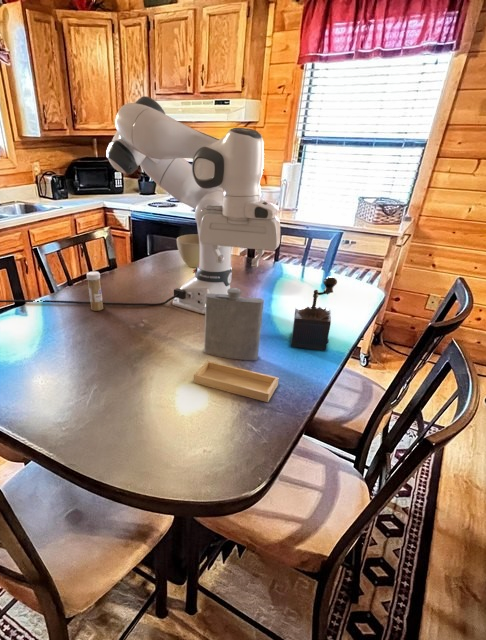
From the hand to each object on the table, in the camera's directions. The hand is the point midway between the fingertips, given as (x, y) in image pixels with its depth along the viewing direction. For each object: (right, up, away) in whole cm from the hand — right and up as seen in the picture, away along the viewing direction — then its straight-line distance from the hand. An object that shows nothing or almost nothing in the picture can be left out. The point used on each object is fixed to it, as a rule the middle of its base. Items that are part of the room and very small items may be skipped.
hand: (236, 264), depth 107 cm
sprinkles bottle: (-45, -3, +46) cm, 64 cm away
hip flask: (0, -23, +14) cm, 27 cm away
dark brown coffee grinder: (+26, -17, +23) cm, 39 cm away
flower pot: (-6, +25, +90) cm, 94 cm away
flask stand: (0, -31, +1) cm, 31 cm away
